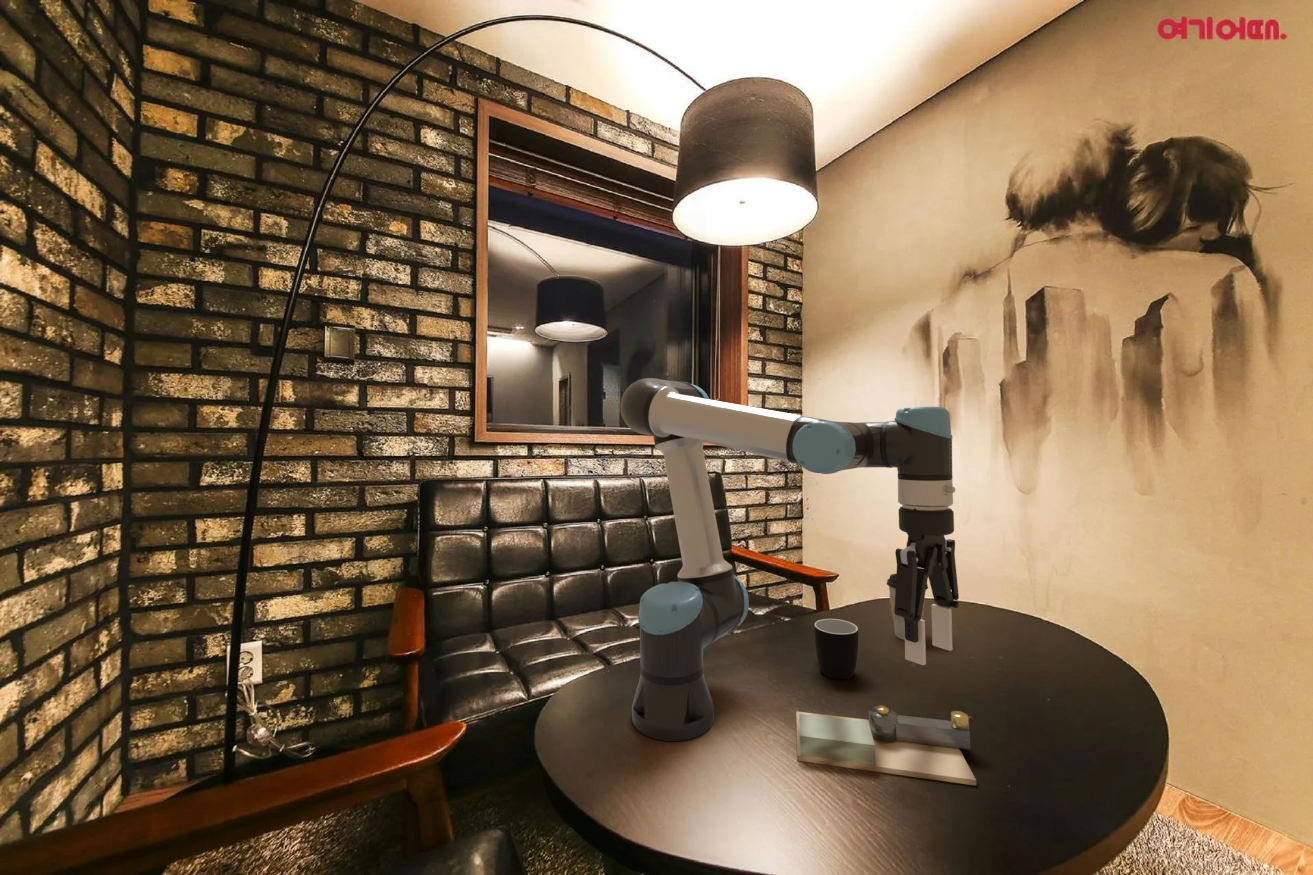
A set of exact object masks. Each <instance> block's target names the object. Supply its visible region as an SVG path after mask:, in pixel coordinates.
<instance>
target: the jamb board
mask: <svg viewBox="0 0 1313 875" xmlns="http://www.w3.org/2000/svg"><path fill="white" fill-rule="evenodd" d="M795 714H796V717H795V718H796V752H797V753H796V754H797V755H796V757H797V761H800V762H804V763H805V762H807V763H814V764H821V765H828V766H836V767H842V768H849V769H855V770H863V771H869V772H877V773H884V774H891V775H898V776H903V777H904V776H905V777H912V778H919V779H925V780H926V779H927V780H932V781H933V780H935V781H940V782H949V783H955V784H962V785H968V786H977V779H976V777H975V775H974V774H973V772H972V770H971V767H970V766H969V764H968V763H967V762H968V761H966V759H965V757H964V755H963V753H962V751H961V750H960V749H961V748H955V747H947V746H939V745H931V744H923V743H915V742H907V741H899V740H896V741H894V742H883V741H880V740H877V739H875V738H874V737H872V733H871V729H870V726H869V719H865V718H856V717H847V716H838V715H831V714H822V713H814V712H813V713H812V712H806V711H805V712H803V711H796V713H795Z"/></svg>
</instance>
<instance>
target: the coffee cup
mask: <svg viewBox="0 0 1313 875" xmlns="http://www.w3.org/2000/svg"><path fill="white" fill-rule="evenodd" d="M886 585H887V586H888V588H889V589H888V590H889V602H890V608H891V616H892V618H893V620H892V621H893V626H894V633H895V636H896V637H897V638H898V639H899V640H904V641H905V630H904V618H903V617H901V616H897V615H895V612H894V610H895V592H896V573H892V574H890V575H889V578H888V579H887V580H886ZM927 589H929V586H928V583H927V586H926V590H927ZM925 605H926V597H925V598H924V604H923V610H922V615H921V619H922V620H924V616H925Z"/></svg>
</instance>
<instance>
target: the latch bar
mask: <svg viewBox="0 0 1313 875" xmlns="http://www.w3.org/2000/svg"><path fill="white" fill-rule="evenodd" d="M867 712H868V720H869V726H870V729H871V733H872V737H874V738H875V739H877V740H880V741H883V742H894V741H896V740H899V741H907V742H915V743H923V744H931V745H939V746H947V747H955V748H959V749H965V750H971V731H970V726H969V720H970V719H969V715H968V714H967V713H966V712H963V711H960V710H952V711H951V712H950V720H947V719H946V720H945V719H938V718H937V719H936V718H928V717H920V716H919V717H918V716H911V715H910V716H909V715H908V716H907V715H901V714H897V712H896V711H895V710H893V709H891V708H890V707H887V706H885V705H876V706H875V705H874V706H870V707H869V708H868V711H867Z"/></svg>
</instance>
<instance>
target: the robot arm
mask: <svg viewBox="0 0 1313 875" xmlns="http://www.w3.org/2000/svg"><path fill="white" fill-rule="evenodd" d="M619 406H620V413H621V414H620V415H621V417H622V420H623V421H624V423H625V424H626V425H627V427H628V428H630V429H631V430H632V431H634V432H635V433H638V434H640V435H645V436H646V435H647V436H652V437H653V442H654V448H655V449H657V450H658V451H659V452H661V453H662V454H663V458H664V463H665V464H664V465H665V471H666V475H667V482H668V487H669V488H668V489H669V493H670V499H671V504H672V511H673V515H674V521H675V527H676V533H677V539H678V544H679V550H680V556H681V562H682V567H681V568H680V570H679V571H678V573H677V581H670V582H668V583H664V582H663V583H659V584H657V585H655V586H652V587H651V588H649V589H647V590H646V591H645V592H644V593H643V594H642V596H641V597H640V600H639V611H638V619H637V620H638V630H639V631H638V632H639V636H638V637H639V661H640V663H639V665H640V677H639V680H638V684H637V686H636V690H635V694H634V696H633V697H634V698H633V699H632V705H631V720H632V721H631V722H632V724H633V726H634V728H635V729H636V730H637V731H639V732H640V733H641V734H642V735H645V736H646V737H648V738H652V739H655V740H659V741H664V742H666V741H667V742H681V741H689V740H692V739H694V738H697V737H699V736H702V735H703V734H705V733H707V732H708V731H709V730H710V728H712V726H713V724H714V721H715V706H714V702H713V698H712V695H711V693H710V691H709V690H710V689H709V688H708V684H707V681H706V678H705V674H704V649H705V648H706V647H708V646H709V645H711V644H713V643H714V642H716V641H717V640H719V639H722V638H723V637H724V636H727V635H729V634H731V633H732V632H734V631H735V630H736V629H737V628H738V627H739V626H740V625H741V624H742V623H743V622H744V621H745V619H746V617H747V614H748V612H749V606H750V602H749V600H750V599H749V595H748V591H747V589H746V586H745V585H744V582H742V581H740V580H739V577H738V576H737V575H736V574H734V569H733V565H732V564H731V563H729V562H728V561H727V560H725V558H724V555H723V550H722V549H723V548H722V543H721V539H720V538H721V537H720V534H719V528H718V523H717V519H716V513H715V512H716V511H715V506H714V502H713V501H714V500H713V496H712V491H711V486H710V480H709V475H708V470H707V463H706V458H705V452H704V445H705V444H706V443H708V444H712V445H715V446H719V447H724V448H727V449H732V450H736V451H741V452H746V453H748V454H749V453H750V454H752V455H753V454H754V455H757V456H762V457H766V458H770V459H774V460H779V461H783V462H787V463H790V464H795V465H797V466H801V468H803V469H804V470H806V471H808V472H810V473H815V474H822V475H831V474H834V473H835V474H836V473H838V472H841V471H847V470H853V469H858V468H865V469H866V468H867V469H868V468H887V469H889V468H896V469H897V502H898V503H899V504H900V505H902V506H900V507H899V508H898V528H899V530H901V531H902V532H904V533H905V534H907V541H906V547H905V548H896V550H895V551H894V552H895V560H896V561H895V562H896V573H895V574H896V592H895V610H894V612H895V615H897V616H901V617H903V618H904V630H905V640H904V660H907V661H909V662H912V663H914V664H918V665H921V666H926V665H927V652H926V648H927V647H926V620H925V619H923V620H922V619H921V615H922V610H923V604H924V598H925V599H926V597H925V596H926V590H927V589H926V586H928V585H927V584H928V582H929V585H930V588H931V592H932V596H933V597H932V598H933V600H934V601H933V602H934V603H932V604H931V606H930V608H931V637H932V638H931V641H932V642H931V644H932V646H933V647H936V648H940V649H944V650H945V651H946V650H947V651H949V652H950V651H953V623H952V621H953V620H952V617H953V616H952V608H955V609H958V608H959V605H960V604H959V601H958V600H959V598H960V597H959V596H960V595H959V586H958V575H957V574H958V573H957V567H956V566H957V565H956V557H955V556H956V555H955V554H956V552H955V551H956V540H955V539H950V538H945V536H948V535H951V534H953V533H954V531H955V515H954V514H955V513H954V510H953V509H952V508H950V507H952V505H953V504H954V496H953V495H954V493H956V488H955V486H953V435H952V426H951V416H950V412H949V410H948V409H947V408H945V407H942V406H914V407H902V408H899V409H897V410H896V413H895V417H894V420H890V421H876V422H875V421H873V422H871V421H869V422H866V421H865V422H849V421H834V420H827V419H822V418H816V417H812V416H811V417H810V416H803V415H800V414H794V413H788V412H783V411H778V410H777V411H776V410H771V409H765V408H760V407H755V406H748V405H743V404H737V403H732V402H727V401H720V400H715V399H710V398H709V396H708V394H707V392H705V390H703V389H702V388H701V387H700V386H698V385H695V384H692V383H690V382H687V381H682V380H680V381H679V380H678V381H677V380H676V381H675V380H668V379H661V378H660V379H659V378H653V377H651V378H649V377H647V378H646V377H645V378H641V379H638V380H636V381H635V382H632V383H631V384H630V385H629V386H628V387H627V388H626V389H625V391H624V392H623V394H622V396H621V400H620V405H619ZM928 580H929V581H928Z"/></svg>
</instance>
